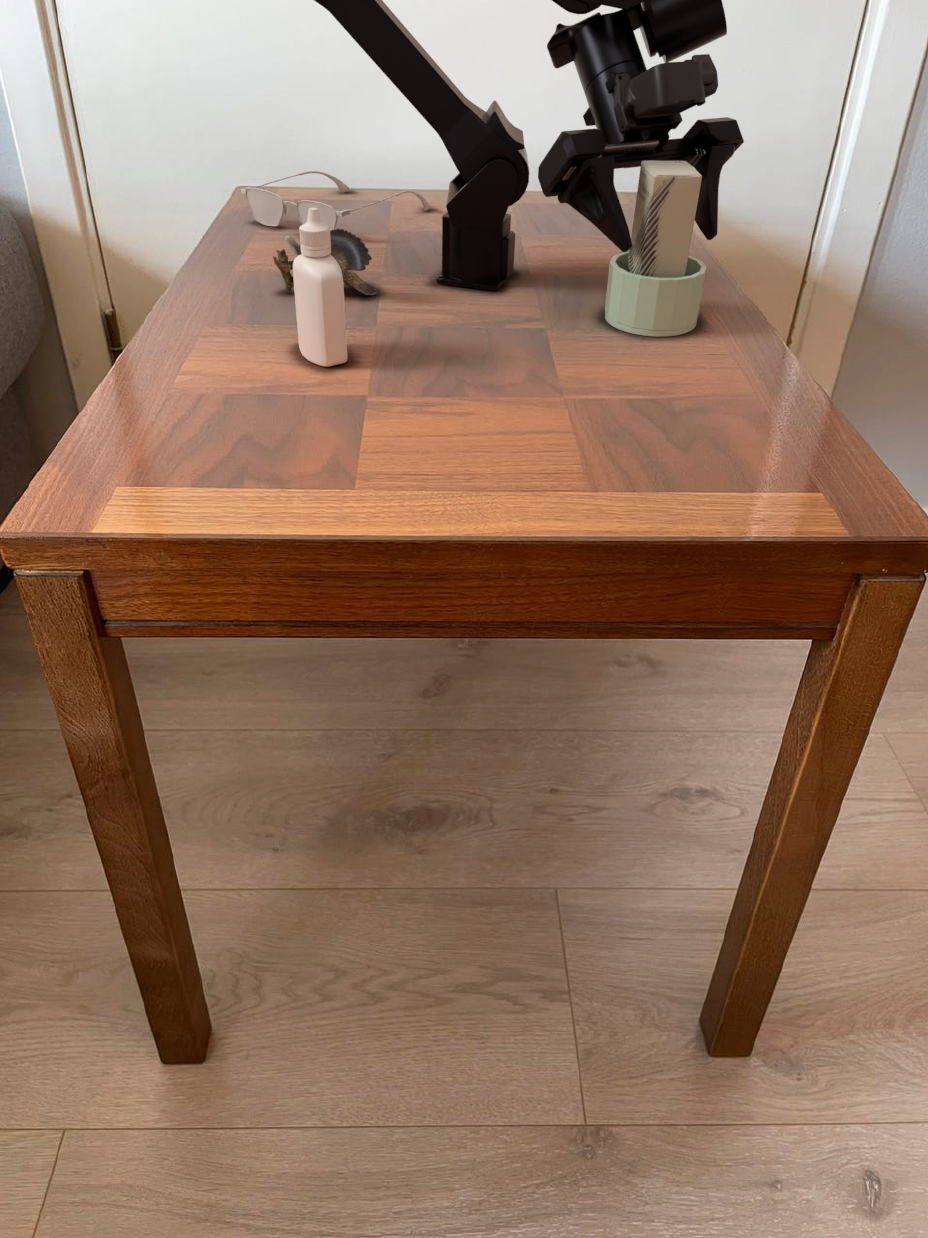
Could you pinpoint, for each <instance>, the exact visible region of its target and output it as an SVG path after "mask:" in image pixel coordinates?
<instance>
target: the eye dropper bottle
mask: <svg viewBox="0 0 928 1238" xmlns="http://www.w3.org/2000/svg"><path fill="white" fill-rule="evenodd" d="M298 232H299V233H298V234H299V245H300V247H301V253H302V254H301V255H299V256H297V255H296V257H295V258H294V259H293V261H294V262H293V269H292V277H293V280H294V287H293V291H294V303H295V315H296V327H297V339H298V347H299V351H300V353H301V355H302V357H303V358H305V359H306V360H307V361H309V362H310V363H313V364H314V365H317V366H320V367H325V368H326V367H327V368H328V367H333V366H337V365H341V364H345V363H347V361H348V356H349V355H348V339H347V338H348V336H347V321H346V319H347V318H346V302H345V287H344V284H345V283H344V282H343V275H342V271H341V268H340V266H339V264H338V263H337V261H336V260H335V259H334V258H333V257H332V255H331V254H330V253H331V238H330V227H329V226H328V225H326V224H324V223H322V222H321V220H320V216H319V212H318V208H309V211H308V219H307V222H306V223H305V224H303V225H302V224H300V226H299V227H298Z"/></svg>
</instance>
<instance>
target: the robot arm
mask: <svg viewBox="0 0 928 1238" xmlns="http://www.w3.org/2000/svg"><path fill="white" fill-rule="evenodd" d="M313 1H314V2H315V3H317V4H319V5H320V6H321V7H323V8H324V9H325V10H326V11H328V13H329V14H331V16H333V18H334V19H335V20H336V21H337V22H338V23H339V24H340V26H342V28H343V29H344V30H345V31H346V32H347V33H348V35H349V36H350V37H351V38H352V39H353V40H354V41H355V43H357V45H358V46H359V47H360V48H361V49H362V51H364V53H365V54H366V55H367V56H368V57H369V58H370V59H371V61H372V62H374V64H375V65H376V66H377V67H378V68H379V70H381V72H382V73H383V74H384V75H385V76H386V77H387V78H388V79H389V81H390V82H391V83H392V84H393V85H394V86H395V87H396V89H398V91H399V92H401V94H402V95H403V97H405V98H406V100H407V101H408V102H409V103H410V104H411V105H412V106H413V107H414V108H415V110H416V111H417V112H418V113H419V115H420V116H421V117H423V119H424V120H425V121H426V122H427V124H429V126H430V127H431V128H432V129H433V130H434V131H435V132H436V133H437V135H438V137H439V138H440V139H441V141H442V143H443V145H444V147H445V149H446V151H447V152H448V154H449V157H450V158H451V160H452V162H453V163H454V166H455V168H456V170H457V172H458V173H457V174H456V175H455V176H454V177H453V178H452V180H451V181H450V182H449V184H448V190H447V191H448V192H447V198H446V206H445V207H446V212H445V213H444V214H442V216H441V219H442V220H441V225H442V226H441V227H442V228H441V272H440V273H439V274H438V275H437V276H436V277H435V282H436V283H437V284H441V285H442V284H443V285H450V286H458V287H466V288H473V289H481V290H487V291H488V290H489V291H497V290H499V289H500V287H501V286H502V285H503V284H504V283H505V282H506V281H507V280H508V279H509V277H510V276H511V275H513V273H514V270H515V269H514V268H515V248H516V232H515V231H514V230H511V222H512V214H511V213H507V212H508V209H509V207H511V206H513V205H514V204H515V203H517V202H518V201H520V200H521V198H522V197H523V196H524V194H525V193H526V191H527V189H528V185H529V182H530V167H529V159H528V152H527V148H526V147H525V138H524V131H523V130H522V129H520V128H518V127H517V126H515V125H513V124H512V123H511V122H510V121H509V119H508V117H506V115H505V113H504V111H503V109H502V107H501V106H500V104H499V103H498V102H497V100H493V101H492V102H491V104H490V106H489V107H488V108H487V110H486V111H485V110H484V109H483V108H481V107H479V106H478V105H477V104H475V103H474V102H472V101H471V100H470V99H468V97H466V96H465V95H464V93H463V92H462V91H461V90H460V88H459V87H457V85H456V84H455V83H454V82H453V81H452V80H451V78H450V77H449V76H448V75H447V74H446V73H445V72H444V70H443V69H442V67H440V66H439V64H438V63H437V62H436V61H435V60H434V59H433V58H432V57H431V55H430V53H428V51H426V49H425V48H424V47H423V46H422V45H421V44H420V42H419V41H418V40H417V39H416V38H415V36H414V35H413V33H411V32H410V31H409V30H408V28H407V27H406V26H405V25H404V23H402V22H401V21H400V19H399V18H398V17H397V16H396V15H395V13H394V12H393V11H392V10H391V8H390V7H388V5H387V4H386V3H385V2H384V0H313ZM551 1H552V2H553V3H555V4H556V5H558V6H559V7H560V8H562V9H563V10H565V11H567V12H568V13H571V14H574V15H586V14H589V13H591V12H593V11H595V10H597V9H600V7H602V6H606V7H611V8H615V9H620V10H616V11H613V12H609V13H604V14H601V12H600V11H598V12H596V13H594V14H592V15H590V16H588V17H586V18H584V19H583V20H580V21H578V22H576V23H574V24H570V25H565V24H562V23H560V22H559V23H557V24H556V26H555V31H554V33H553V34H552V35H551V37H550V39H549V40H548V42H547V44H546V48H547V51H548V55H549V57H550V60H551V63H552V65H553V67H554V69H560V68H562V67H564V66H566V65H568V64H570V63H572V62H573V64H574V66H575V69H576V72H577V76H578V78H579V81H580V84H581V87H582V90H583V93H584V96H585V98H586V102H587V105H588V108H587V109H586V111H585V112H584V114H583V115H582V118H583V120H584V121H583V122H584V125H585V126H586V127H591V126H592V127H593V126H595V128H587V129H585V128H584V129H573V130H562V131H561V132H560V133H559V135H558V136H557V138H556V140H555V141H554V142H553V144H552V146H551V147H550V149H549V150H548V151H547V153H546V155H544V157H543V159H542V160H541V162H540V164H539V166H538V171H537V179H538V182H539V185H540V188H541V191H542V194H543V196H544V197H546V198H550V197H557V200H558V201H557V202H559V204H567V205H569V206H570V207H571V208H572V209H573V210H575V211H576V212H578V213H579V214H580V215H581V216H583V217H584V218H586V220H587V221H588V222H590V223H591V224H592V225H594V227H596V228H597V229H598V230H599V231H600V232H601V233H602V234H603V235H604V236H605V237H606V238H607V239H608V240H609V241H610V242H611V243H612V244H614V245H615V246H616V247H617V249H619V250H620V251H621V253H622V252H628V251H629V250H630V248H631V247H632V242H631V233H630V229H629V226H628V223H627V219H626V217H625V214H624V210H623V208H622V205H621V202H620V199H619V196H618V193H617V190H616V187H615V179H614V178H615V170H616V169H617V170H619V169H631V168H641V162H642V161H648V160H654V161H686V162H688V163H689V164H690V165H691V166H693V167H694V168H695V169H696V170H697V171H698V172H699V173H700V174H701V175H702V180H701V186H700V192H699V198H698V204H697V209H696V215H695V220H694V223H696V225H697V228H698V229H699V230H700V232H701V233H702V235H703V236H704V238H705V239H706V241H712V240H713V239H714V238H715V237H716V236H717V235H718V224H719V223H718V222H719V187H720V181H721V180H720V179H721V173H722V170H723V167H724V166H725V164H726V163H727V162H728V161H729V160H730V159H731V158H732V157H733V156H734V154H735V152H736V151H737V150H738V149H739V148H740V147H741V146H742V145H743V144H744V143H745V140H744V137H743V135H742V132H741V129H740V126H739V123H738V120H737V119H734V118H731V117H714V118H703V119H701V118H700V119H697V120H696V121H695V123H694V124H693V125H692V126H691V127H690V128H689V130H688V131H686V133H685V134H684V135H683V136H682V137H681V138H679V137H678V138H670V131H672V130H676V129H677V128H678V127H679V126H680V124H681V123H682V122H683V118H682V115H681V114H682V113H683V112H685V111H688V110H689V109H691V108H693V107H696V106H697V107H701V106H703V105H705V104H706V98H709V97H711V96H713V95H715V94H716V93H717V91H718V87H719V78H718V71H717V68H716V66H715V63H714V62H713V61H714V60H713V59H712V57H711V55H710V54H709V53H704V54H693V55H692V56H691V59H685V60H683V61H674V60H676V59H678V58H681V57H683V56H684V55H687V54H689V53H692V52H693V51H696V50H697V49H700V48H701V47H704V46H706V45H708V44H710V43H712V42H714V41H716V40H718V39H721V38H723V37H725V36H727V35H728V26H727V25H728V24H727V18H726V13H725V7H724V4H723V0H551ZM638 29H639V30H640V34H641V37H642V41H643V42H644V46H645V49H646V51H647V54H648V56H649V58H653V57H655V56H658V57H659V59H660V58H662V60H663V62H662V63H659V64H656V65H653V66H651V67H649V68H647V66H646V62H645V60H644V57H643V55H642V51H641V49H640V45H639V43H638V39H637V37H636V34H635V31H637V30H638Z"/></svg>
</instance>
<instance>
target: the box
mask: <svg viewBox="0 0 928 1238" xmlns="http://www.w3.org/2000/svg"><path fill="white" fill-rule="evenodd" d="M639 168H640V169H639V178H638V185H637V192H636V199H635V200H636V201H635V205H634V206H635V207H634V214H633V220H632V228H631V234H630V237H631V242H632V247H631V248H630V249H629V257H628V264H627V271H628V272H631V273H635V274H638V275H642V276H649V277H658V278H679V277H685V272H686V266H687V261H688V255H689V254H690V250H691V243H692V237H693V231H694V226H695V215H696V209H697V204H698V198H699V192H700V186H701V180H702V175H701V174H700V173H699V172H698V171H697V170H696V169H695V168H694V167H693V166H691V165H690V164H689V163H688V162H686V161H654V160H648V161H642V162H641V167H639Z"/></svg>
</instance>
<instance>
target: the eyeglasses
mask: <svg viewBox="0 0 928 1238" xmlns="http://www.w3.org/2000/svg"><path fill="white" fill-rule="evenodd" d="M308 174H318V175H323V176H325V177H327V178H328V179H330V181H331V180H332V181H333V182H334V184H335V186H336V187H337V188H338V191H340V192H341V193H346V192H349V191H350V187H349V186H348V185H347V184H346V183H345V182H343V181H342V180H340V179H339V178H338V177H336V176H333V175H332V174H329V173H326V172H324V171H318V170H310V171H304V172H299V173H298V174H294V175H291V176H286V177H283V178H280V179H277V180H273V181H270V182H266V183H263V184H259V185H257V186H253V187H252V186H248V187H244V188H241V189H240V193H241V194H242V195H245V199H246V202H247V205H248V207H249V209H250V212H251V214H252V216H253V218H254V219H255V221H257V222H258V223H259V224H261V225H263V226H267V227H278V226H280V224H281V222H282V220H283V218H284V215H286V216H287V212H288V209H287V208H288V207H287V204H290V205H293V206H295V207H296V213H297V216H298V218H299V222H300V225H303V224H305V223H306V222H307V219H308V211H309V208H318V212H319V216H320V220H321V222H322V223H324V224H326V225H328V226H329V227H330V230H336V227H337V224H338V219H339V218H338V217H341V218H343V217H345V216H349V215H351V212H354V211H357V210H360V209H363V208H366V207H370V206H373V205H375V204H378V203H381V202H384V201H387V200H389V199H392V198H395V197H399V196H400V195H403V194H413V196H414V195H415V196H416V197H417V198H418V199H419V200H420V202H421V205H422V208H423V209H424V211H428V210H430V209H431V208H432V205H431V204H430V202H429V201H428V200H427V198H425V197H424V196H423V195H421V194H420V193H418V192H416V191H415V190H411V189H410V190H402V191H400V192H397V193H396V194H394V195H391V196H389V197H386V198H383V199H381V200H378V201H374V202H372V203H369V204H365V205H363V206H360V207H356V208H353V209H348V208H347V209H344V210H336V209H335V208H334V207H333V206H332V205H330V204H327V203H324V202H320V201H316V200H308V199H302V200H299V201H297V203H296V202H295V201H291V200H285V201H284V200H283V198H282V197H281V196H280V195H278V194H277V193H275V192H272V191H269V190H266V189H262V188H261V187H264V186H266V185H270V184H273V183H276V182H280V181H284V180H286V179H290V178H293V177H299V176H303V175H308Z"/></svg>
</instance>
